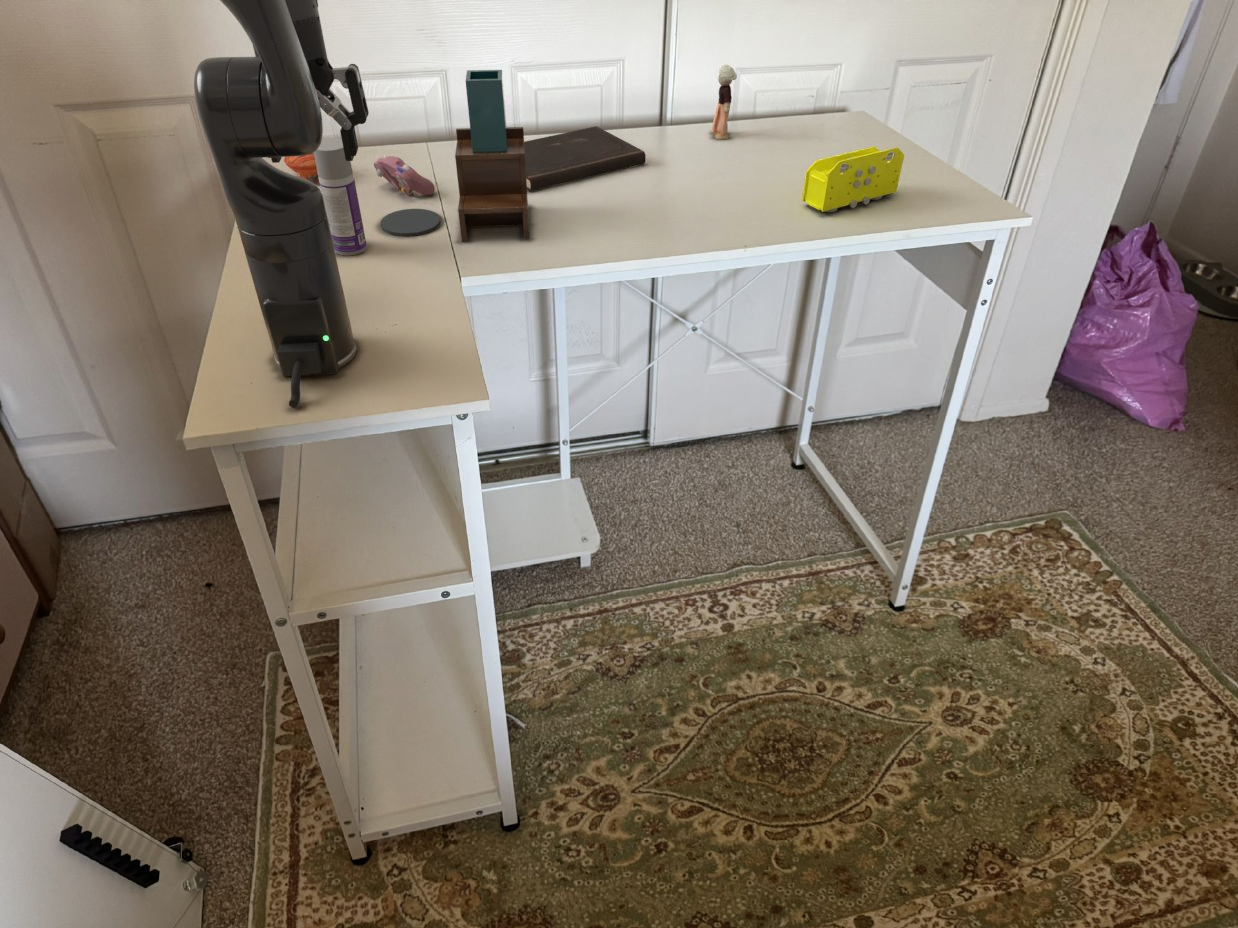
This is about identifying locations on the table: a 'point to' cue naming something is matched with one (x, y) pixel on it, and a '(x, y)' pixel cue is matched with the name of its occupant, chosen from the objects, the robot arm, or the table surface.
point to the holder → (486, 110)
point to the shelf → (492, 184)
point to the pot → (302, 165)
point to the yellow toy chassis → (852, 178)
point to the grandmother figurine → (723, 102)
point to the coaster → (410, 222)
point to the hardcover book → (577, 157)
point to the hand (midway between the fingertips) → (314, 159)
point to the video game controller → (403, 176)
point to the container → (340, 198)
